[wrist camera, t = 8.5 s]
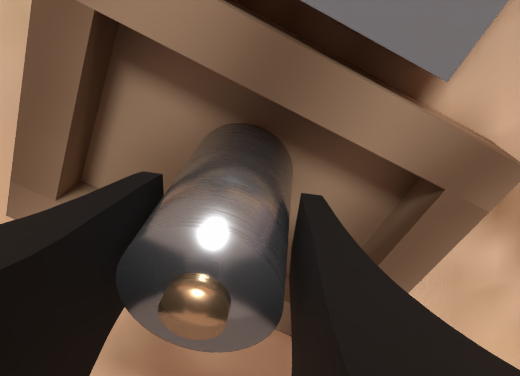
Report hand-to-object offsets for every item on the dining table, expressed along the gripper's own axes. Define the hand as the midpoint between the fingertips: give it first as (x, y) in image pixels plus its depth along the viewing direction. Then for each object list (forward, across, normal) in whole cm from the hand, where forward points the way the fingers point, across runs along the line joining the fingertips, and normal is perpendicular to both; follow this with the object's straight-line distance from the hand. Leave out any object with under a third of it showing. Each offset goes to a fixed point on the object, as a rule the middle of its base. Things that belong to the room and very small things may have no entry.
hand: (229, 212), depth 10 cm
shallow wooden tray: (+3, 0, 0) cm, 3 cm away
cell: (+3, 0, 0) cm, 3 cm away
